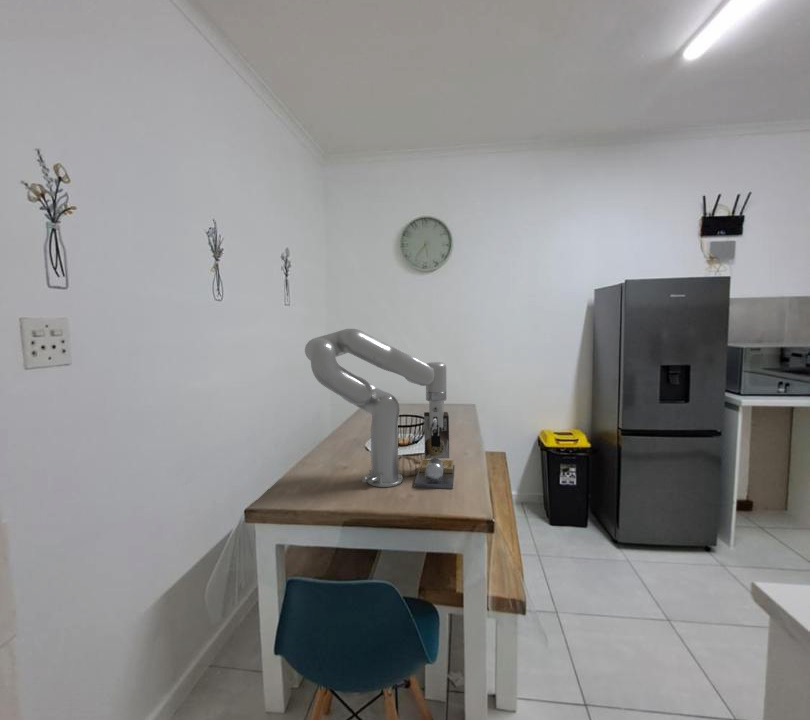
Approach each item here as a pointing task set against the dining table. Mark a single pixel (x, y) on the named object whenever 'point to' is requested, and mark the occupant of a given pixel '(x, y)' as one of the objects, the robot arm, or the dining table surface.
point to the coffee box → (444, 438)
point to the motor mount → (435, 474)
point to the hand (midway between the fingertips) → (436, 443)
